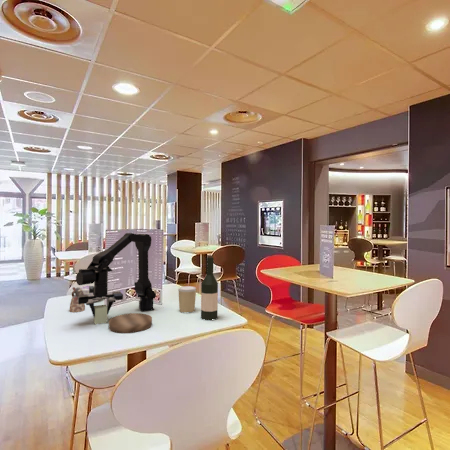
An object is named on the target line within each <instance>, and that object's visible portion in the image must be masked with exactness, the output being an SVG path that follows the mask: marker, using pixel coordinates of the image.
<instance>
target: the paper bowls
mask: <svg viewBox="0 0 450 450" xmlns="http://www.w3.org/2000/svg"><path fill="white" fill-rule="evenodd" d="M89 286H94V284H93V285H91V284H89V285H81V286H79V287H80V288H81V289H82V291H83V293H84V295H86V294H87V295H88V296H94V295H93V293H89ZM99 301H100V300H93V303H95V302H99Z"/></svg>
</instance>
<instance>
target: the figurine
mask: <svg viewBox="0 0 450 450" xmlns="http://www.w3.org/2000/svg"><path fill="white" fill-rule="evenodd" d="M80 287H81V286H78V287H75V286H73V287H72V290H73V291H72V292H71V300H70V303H69V312H70V313H80V312H84V311H85V310H86V305H85V304H86V303H84V304H78V296H79V295H84V293H83V291H82V289H81V288H80Z"/></svg>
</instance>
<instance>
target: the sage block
mask: <svg viewBox="0 0 450 450" xmlns="http://www.w3.org/2000/svg"><path fill="white" fill-rule="evenodd" d="M94 311H95V317H93V322H94V325H99V324H105V323H106V324H107V323H108V315H107V304H98V305H94Z"/></svg>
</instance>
